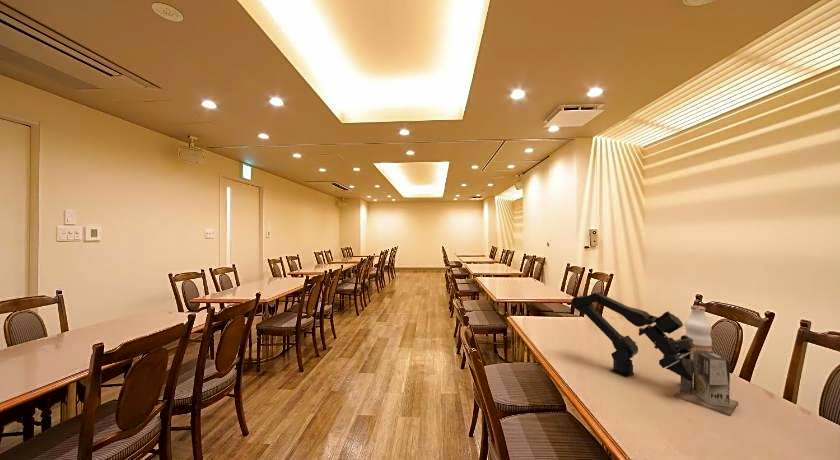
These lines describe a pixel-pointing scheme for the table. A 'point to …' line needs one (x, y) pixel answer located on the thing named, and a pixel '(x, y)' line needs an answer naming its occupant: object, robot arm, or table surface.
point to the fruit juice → (698, 330)
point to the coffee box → (712, 378)
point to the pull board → (689, 396)
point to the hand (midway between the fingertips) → (695, 377)
